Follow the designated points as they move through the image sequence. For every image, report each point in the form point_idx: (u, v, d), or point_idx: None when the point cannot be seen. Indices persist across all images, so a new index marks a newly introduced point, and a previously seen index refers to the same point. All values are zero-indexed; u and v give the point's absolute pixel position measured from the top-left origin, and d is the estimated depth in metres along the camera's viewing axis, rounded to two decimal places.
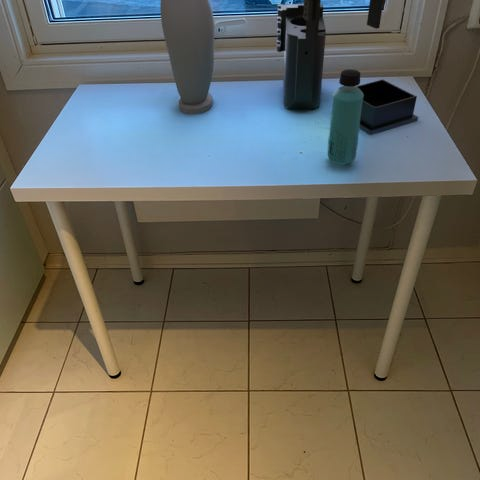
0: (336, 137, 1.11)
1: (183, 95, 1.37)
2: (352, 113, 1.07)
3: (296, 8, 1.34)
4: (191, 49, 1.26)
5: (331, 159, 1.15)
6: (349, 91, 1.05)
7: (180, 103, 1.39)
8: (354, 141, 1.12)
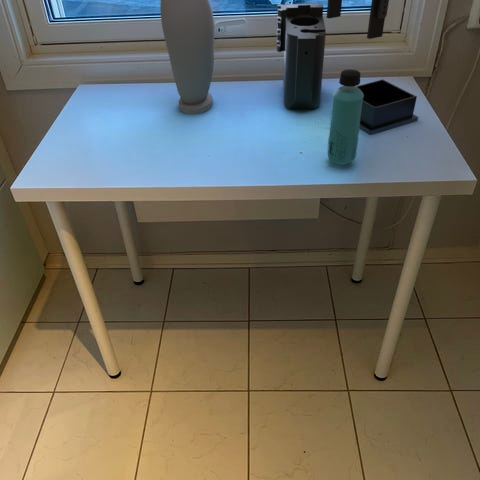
0: (336, 137, 1.11)
1: (183, 95, 1.37)
2: (353, 113, 1.07)
3: (296, 8, 1.34)
4: (191, 49, 1.26)
5: (331, 159, 1.15)
6: (349, 91, 1.05)
7: (180, 103, 1.39)
8: (354, 141, 1.12)
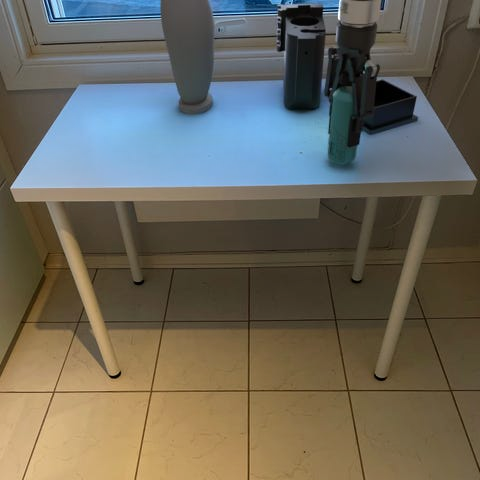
0: (336, 137, 1.11)
1: (183, 95, 1.37)
2: (353, 113, 1.07)
3: (296, 8, 1.34)
4: (191, 49, 1.26)
5: (331, 159, 1.15)
6: (349, 91, 1.05)
7: (180, 103, 1.39)
8: None
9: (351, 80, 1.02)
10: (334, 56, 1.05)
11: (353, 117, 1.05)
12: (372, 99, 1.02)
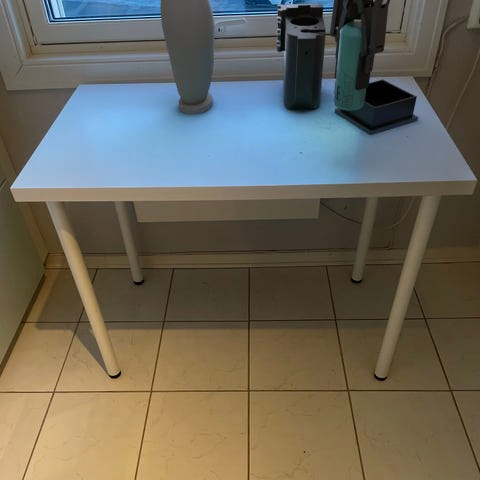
0: (343, 79, 1.02)
1: (183, 95, 1.37)
2: (361, 51, 0.98)
3: (296, 8, 1.34)
4: (191, 49, 1.26)
5: (338, 106, 1.07)
6: (358, 26, 0.97)
7: (180, 103, 1.39)
8: None
9: (360, 11, 0.94)
10: None
11: (362, 54, 0.97)
12: (383, 32, 0.94)
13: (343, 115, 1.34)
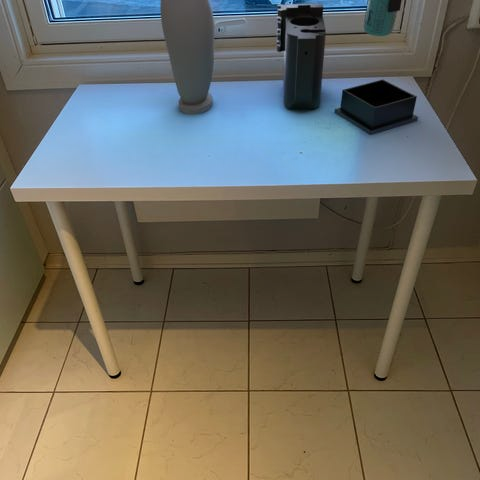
0: (376, 4, 1.08)
1: (183, 95, 1.37)
2: None
3: (296, 8, 1.34)
4: (191, 49, 1.26)
5: (368, 31, 1.12)
6: None
7: (180, 103, 1.39)
8: None
9: None
10: None
11: None
12: None
13: (343, 115, 1.34)
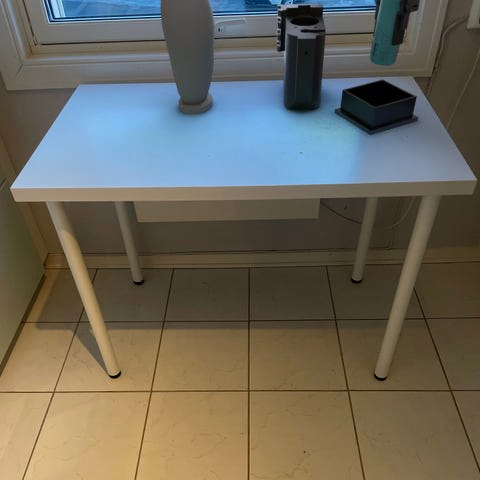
0: (381, 38, 1.19)
1: (183, 95, 1.37)
2: None
3: (296, 8, 1.34)
4: (191, 49, 1.26)
5: (374, 61, 1.24)
6: None
7: (180, 103, 1.39)
8: None
9: None
10: None
11: (399, 12, 1.13)
12: None
13: (343, 115, 1.34)
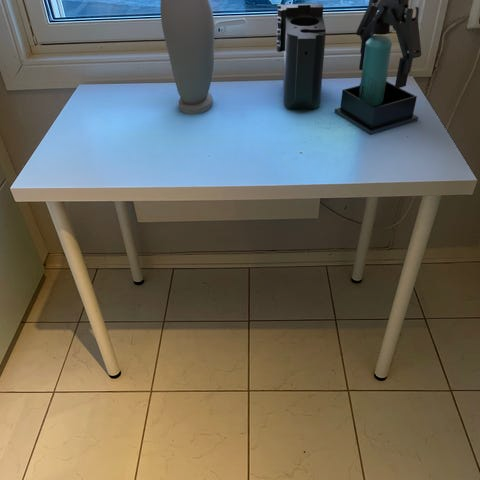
0: (367, 81, 1.28)
1: (183, 95, 1.37)
2: (383, 59, 1.24)
3: (296, 8, 1.34)
4: (191, 49, 1.26)
5: None
6: (380, 39, 1.23)
7: (180, 103, 1.39)
8: (383, 85, 1.29)
9: (394, 27, 1.16)
10: (374, 5, 1.20)
11: (403, 57, 1.17)
12: (417, 39, 1.15)
13: (343, 115, 1.34)
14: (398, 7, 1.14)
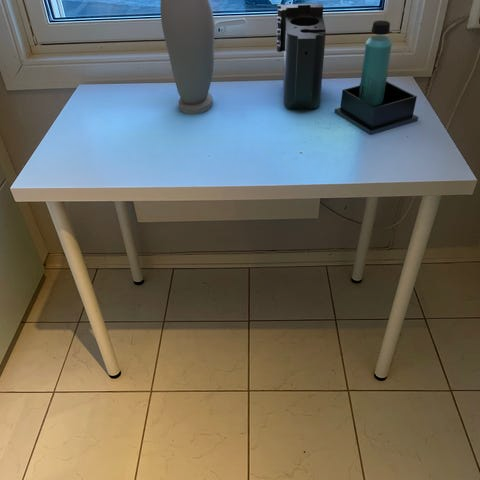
0: (367, 81, 1.28)
1: (183, 95, 1.37)
2: (382, 59, 1.24)
3: (296, 8, 1.34)
4: (191, 49, 1.26)
5: None
6: (380, 39, 1.23)
7: (180, 103, 1.39)
8: (383, 85, 1.29)
9: None
10: None
11: None
12: None
13: (343, 115, 1.34)
14: None
